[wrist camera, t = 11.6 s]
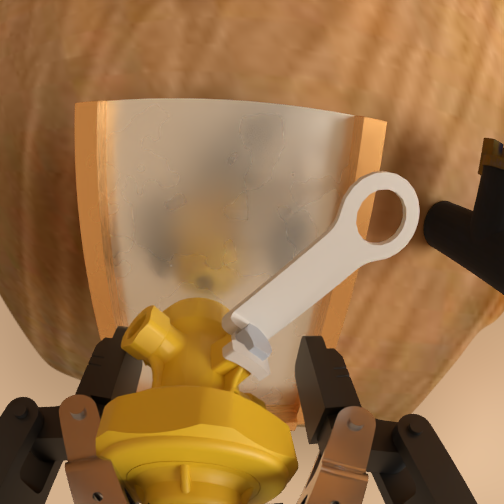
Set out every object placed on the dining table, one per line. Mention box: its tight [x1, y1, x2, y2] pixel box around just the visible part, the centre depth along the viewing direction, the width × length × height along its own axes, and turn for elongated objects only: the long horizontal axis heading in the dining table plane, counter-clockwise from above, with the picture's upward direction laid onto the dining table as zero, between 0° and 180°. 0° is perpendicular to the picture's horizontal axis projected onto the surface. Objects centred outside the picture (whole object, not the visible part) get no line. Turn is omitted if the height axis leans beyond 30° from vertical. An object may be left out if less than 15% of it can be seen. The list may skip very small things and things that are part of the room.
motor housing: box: [75, 98, 387, 431], centre depth 20 cm, size 18×12×14 cm, turn 175°
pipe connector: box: [424, 138, 504, 295], centre depth 20 cm, size 12×5×15 cm, turn 170°
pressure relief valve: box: [96, 171, 420, 504], centre depth 8 cm, size 6×12×10 cm, turn 132°
